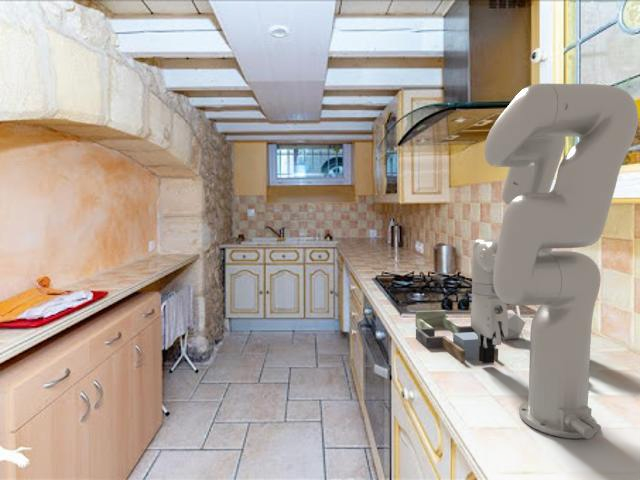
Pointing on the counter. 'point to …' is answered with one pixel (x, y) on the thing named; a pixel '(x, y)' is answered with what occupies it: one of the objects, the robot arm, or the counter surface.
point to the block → (467, 343)
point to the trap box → (431, 341)
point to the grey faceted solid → (514, 325)
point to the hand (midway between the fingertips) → (486, 361)
